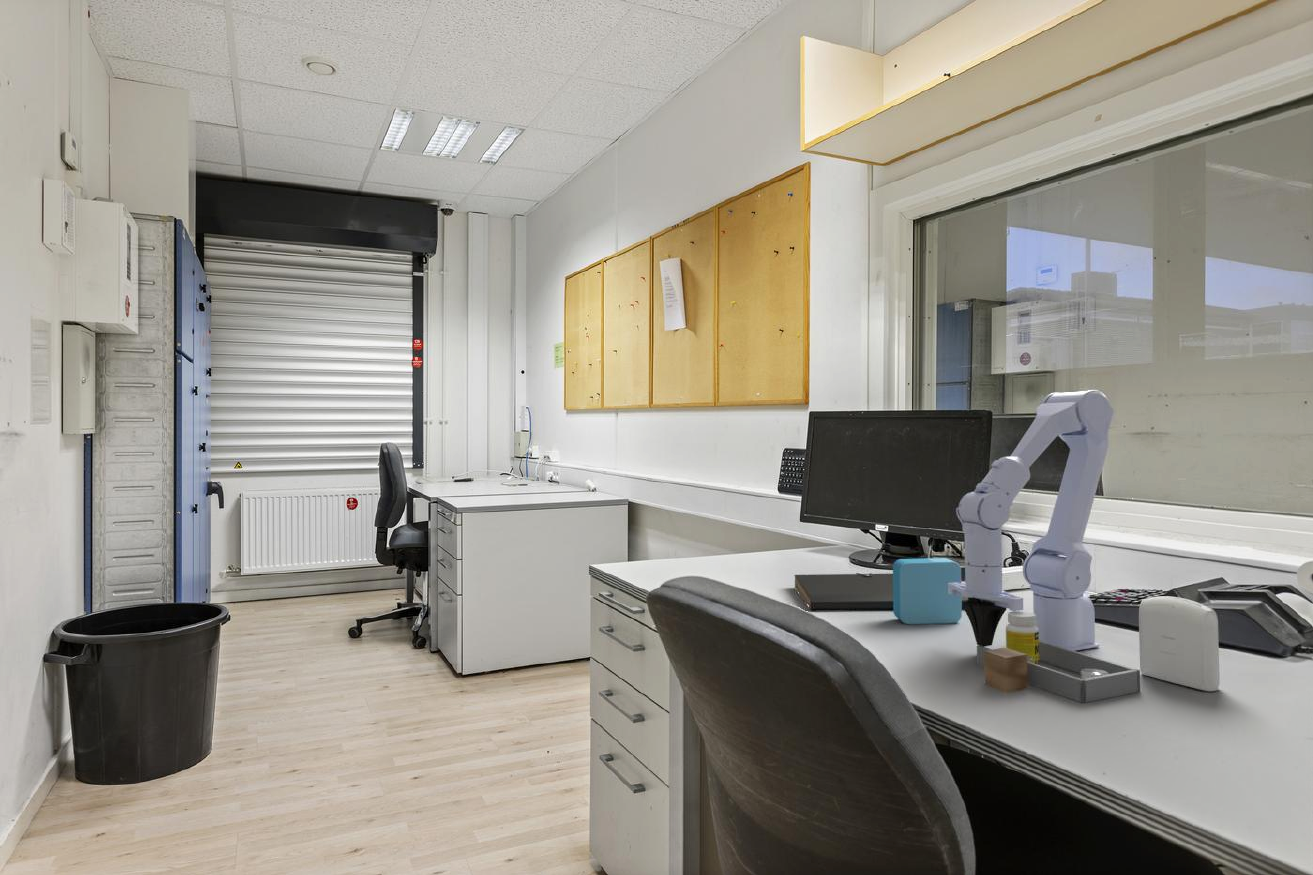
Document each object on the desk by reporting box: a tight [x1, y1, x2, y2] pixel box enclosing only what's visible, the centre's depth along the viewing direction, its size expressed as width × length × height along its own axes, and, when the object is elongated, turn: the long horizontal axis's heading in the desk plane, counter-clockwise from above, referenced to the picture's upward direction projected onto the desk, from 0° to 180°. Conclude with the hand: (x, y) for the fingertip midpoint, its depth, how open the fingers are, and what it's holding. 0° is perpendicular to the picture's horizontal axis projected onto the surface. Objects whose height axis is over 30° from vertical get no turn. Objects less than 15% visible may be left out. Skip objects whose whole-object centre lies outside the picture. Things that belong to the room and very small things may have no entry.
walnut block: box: [984, 647, 1028, 693], centre depth 113 cm, size 4×4×5 cm
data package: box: [892, 557, 963, 625], centre depth 152 cm, size 12×4×12 cm, turn 91°
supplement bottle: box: [1005, 610, 1040, 665], centre depth 122 cm, size 5×5×8 cm
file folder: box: [794, 572, 968, 612], centre depth 173 cm, size 33×4×24 cm
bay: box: [976, 641, 1141, 704], centre depth 117 cm, size 11×19×3 cm, turn 22°
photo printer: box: [1138, 595, 1221, 692], centre depth 114 cm, size 10×4×12 cm, turn 26°
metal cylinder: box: [1080, 669, 1109, 679], centre depth 110 cm, size 4×4×3 cm
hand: (984, 645), depth 129 cm, fingers closed
